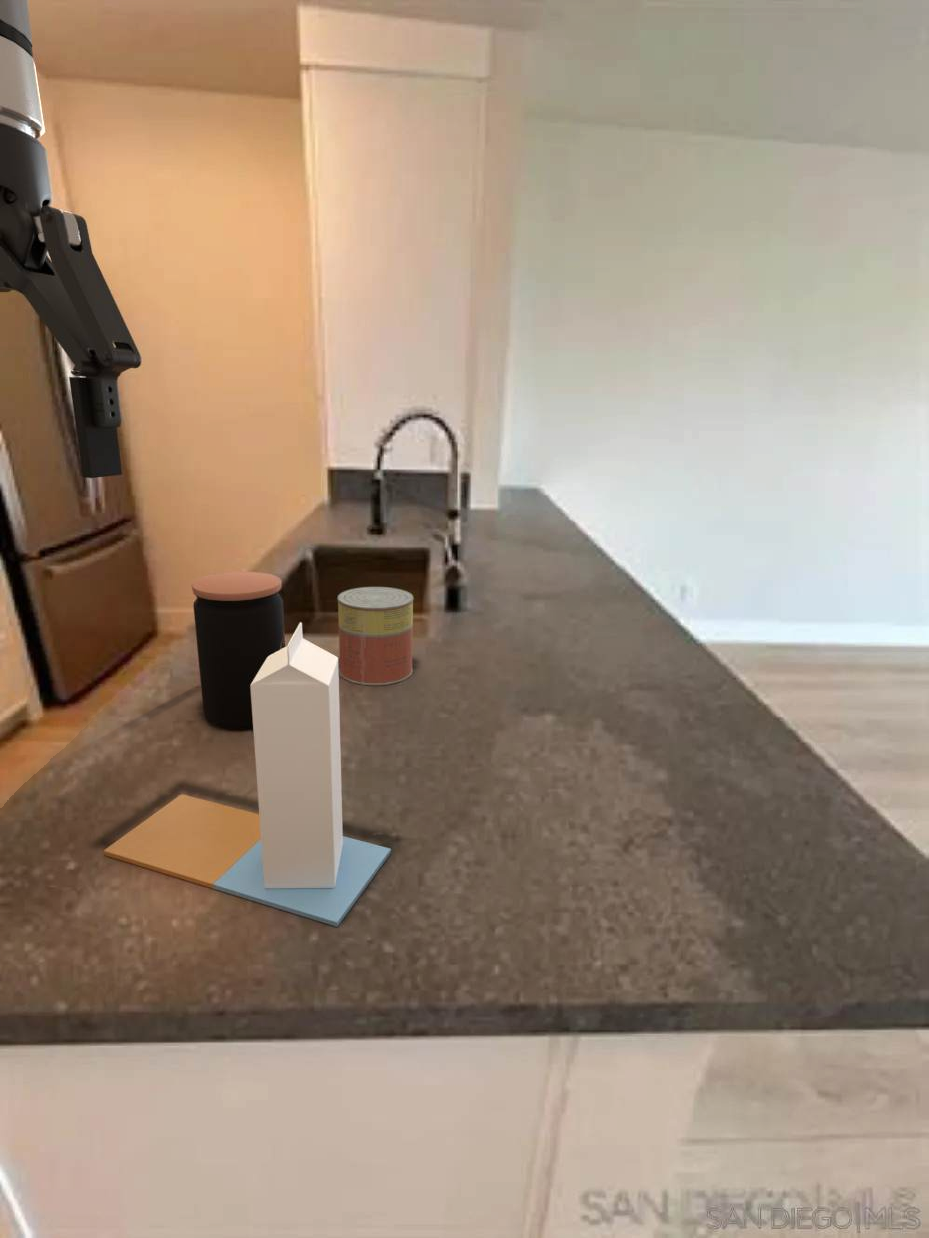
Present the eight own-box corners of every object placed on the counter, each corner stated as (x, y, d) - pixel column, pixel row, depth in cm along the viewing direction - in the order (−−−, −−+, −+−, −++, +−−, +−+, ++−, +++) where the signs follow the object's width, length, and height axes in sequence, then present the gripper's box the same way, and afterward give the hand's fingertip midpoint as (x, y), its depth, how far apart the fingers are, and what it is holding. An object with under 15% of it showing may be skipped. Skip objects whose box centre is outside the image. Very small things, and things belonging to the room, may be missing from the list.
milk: (343, 845, 63) (339, 621, 56) (335, 889, 57) (329, 646, 50) (277, 845, 63) (265, 619, 56) (262, 890, 57) (247, 644, 50)
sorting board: (103, 855, 61) (103, 850, 61) (182, 797, 70) (181, 793, 70) (337, 927, 54) (337, 922, 54) (391, 852, 63) (391, 848, 63)
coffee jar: (300, 719, 88) (294, 586, 82) (216, 739, 82) (204, 598, 76) (272, 690, 96) (265, 568, 91) (194, 707, 90) (181, 577, 85)
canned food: (403, 655, 111) (403, 584, 107) (420, 681, 101) (422, 605, 97) (334, 660, 108) (332, 588, 104) (345, 689, 98) (343, 610, 94)
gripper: (-221, 123, 43) (-141, 461, 50) (76, 82, 36) (124, 488, 42) (-95, 161, 50) (-39, 454, 57) (178, 134, 42) (205, 477, 49)
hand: (31, 469), depth 49 cm, fingers open, 13 cm apart
